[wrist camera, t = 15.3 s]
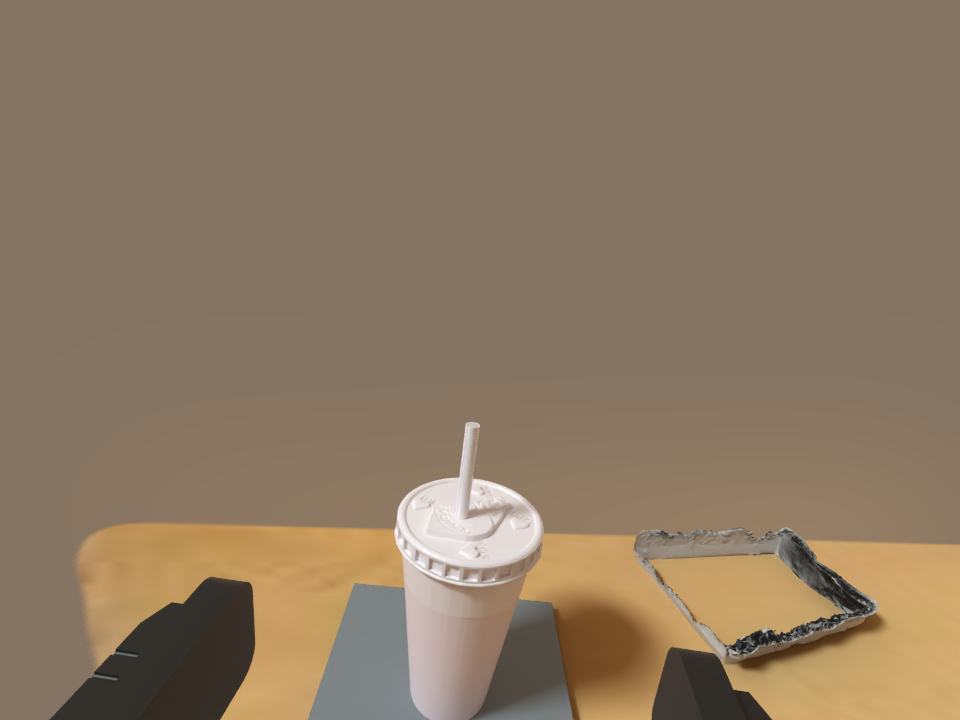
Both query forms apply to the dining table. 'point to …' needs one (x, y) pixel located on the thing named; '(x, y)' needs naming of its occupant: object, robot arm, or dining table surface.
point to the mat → (385, 665)
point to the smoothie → (462, 582)
